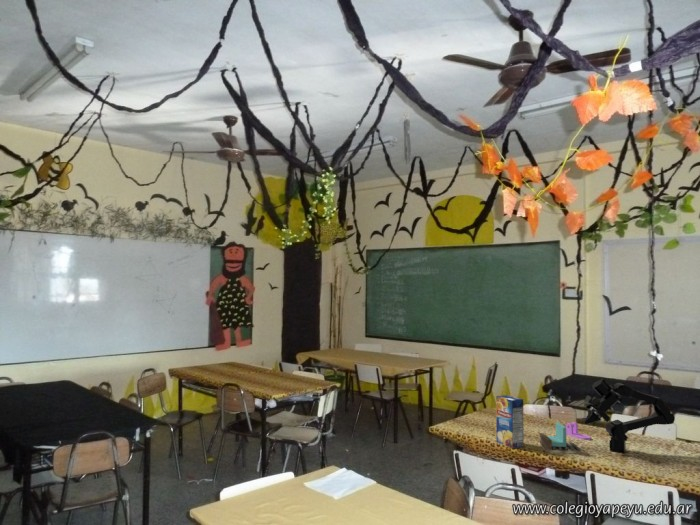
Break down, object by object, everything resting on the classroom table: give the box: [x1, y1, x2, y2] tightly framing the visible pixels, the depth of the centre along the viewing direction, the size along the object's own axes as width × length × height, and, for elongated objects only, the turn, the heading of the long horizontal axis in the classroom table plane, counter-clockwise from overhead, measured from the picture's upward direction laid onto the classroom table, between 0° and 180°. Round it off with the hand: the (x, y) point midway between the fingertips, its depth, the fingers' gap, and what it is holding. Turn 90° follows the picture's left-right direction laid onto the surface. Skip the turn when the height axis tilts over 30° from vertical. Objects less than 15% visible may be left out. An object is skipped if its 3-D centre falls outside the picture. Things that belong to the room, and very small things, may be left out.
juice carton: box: [495, 394, 525, 449], centre depth 266 cm, size 12×8×24 cm, turn 25°
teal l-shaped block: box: [546, 421, 567, 447], centre depth 259 cm, size 7×11×9 cm, turn 177°
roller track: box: [538, 432, 585, 455], centre depth 259 cm, size 18×13×6 cm
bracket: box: [565, 421, 592, 441], centre depth 282 cm, size 13×6×7 cm, turn 32°
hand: (584, 423), depth 259 cm, fingers closed
